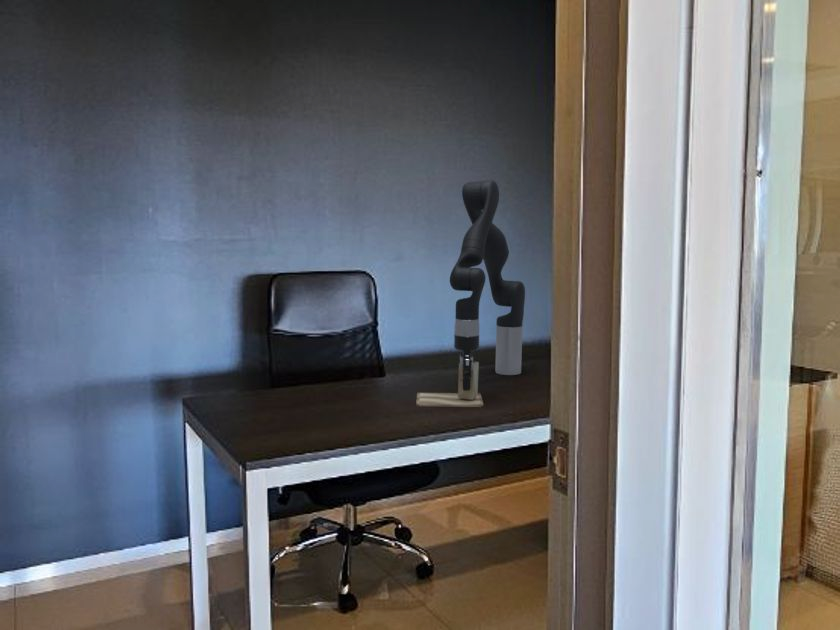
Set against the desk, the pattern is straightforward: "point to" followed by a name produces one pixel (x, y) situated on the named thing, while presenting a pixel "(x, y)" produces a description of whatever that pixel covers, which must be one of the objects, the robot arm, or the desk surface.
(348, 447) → the desk surface
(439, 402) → the mat
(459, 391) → the box
